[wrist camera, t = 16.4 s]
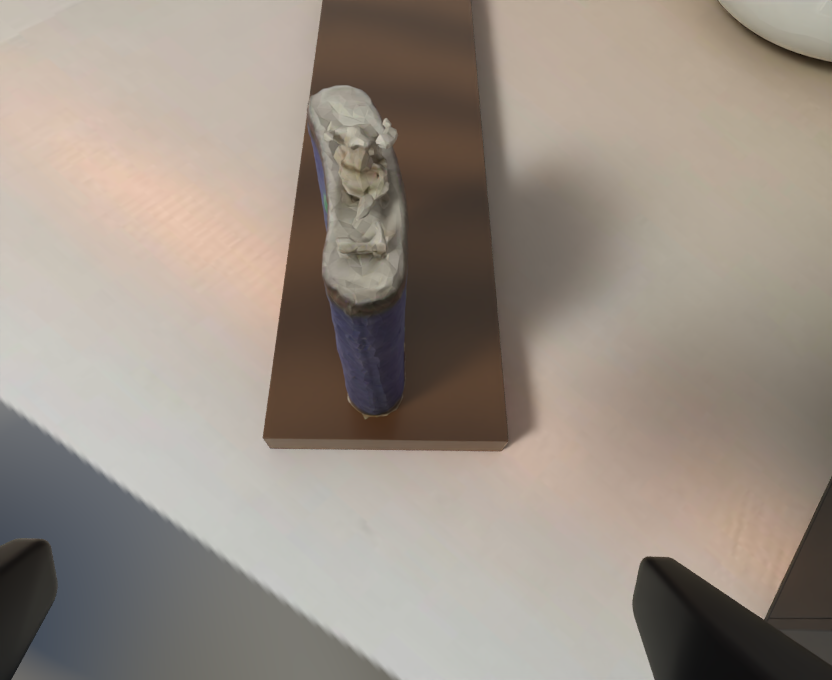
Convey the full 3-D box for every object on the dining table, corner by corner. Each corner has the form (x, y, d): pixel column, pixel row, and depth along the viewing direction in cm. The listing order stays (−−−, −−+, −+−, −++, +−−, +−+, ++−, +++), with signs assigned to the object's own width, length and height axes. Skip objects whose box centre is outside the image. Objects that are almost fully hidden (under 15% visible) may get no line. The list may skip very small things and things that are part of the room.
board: (501, 451, 23) (508, 441, 22) (269, 448, 23) (262, 438, 21) (462, -48, 42) (464, -70, 40) (334, -55, 41) (333, -77, 40)
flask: (327, 245, 26) (294, 29, 16) (386, 239, 26) (388, 25, 17) (346, 424, 22) (318, 275, 12) (417, 414, 22) (442, 262, 13)
